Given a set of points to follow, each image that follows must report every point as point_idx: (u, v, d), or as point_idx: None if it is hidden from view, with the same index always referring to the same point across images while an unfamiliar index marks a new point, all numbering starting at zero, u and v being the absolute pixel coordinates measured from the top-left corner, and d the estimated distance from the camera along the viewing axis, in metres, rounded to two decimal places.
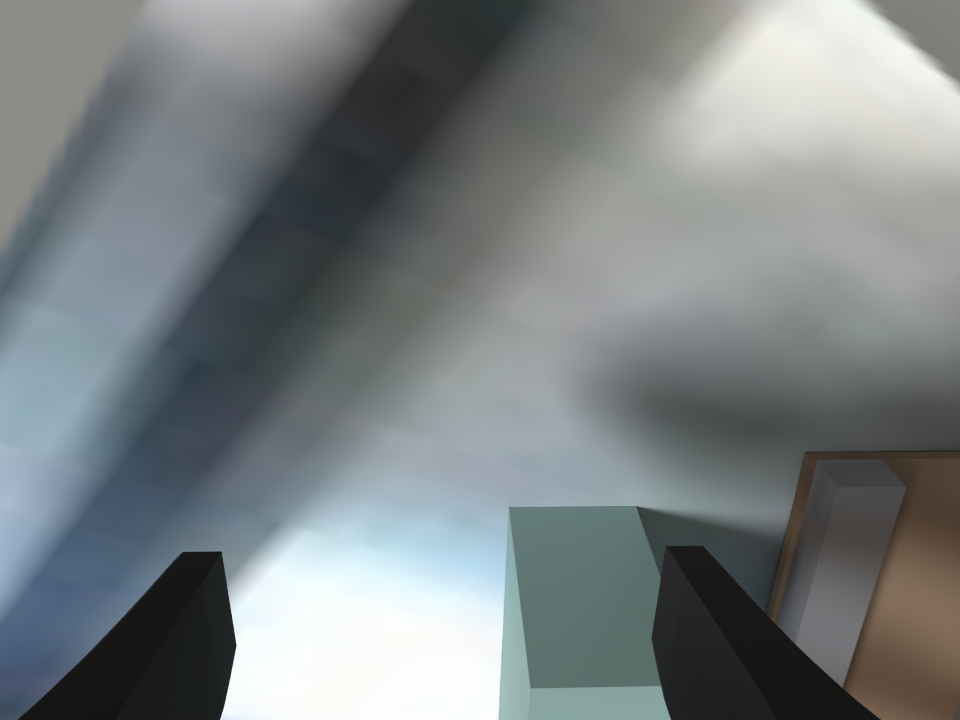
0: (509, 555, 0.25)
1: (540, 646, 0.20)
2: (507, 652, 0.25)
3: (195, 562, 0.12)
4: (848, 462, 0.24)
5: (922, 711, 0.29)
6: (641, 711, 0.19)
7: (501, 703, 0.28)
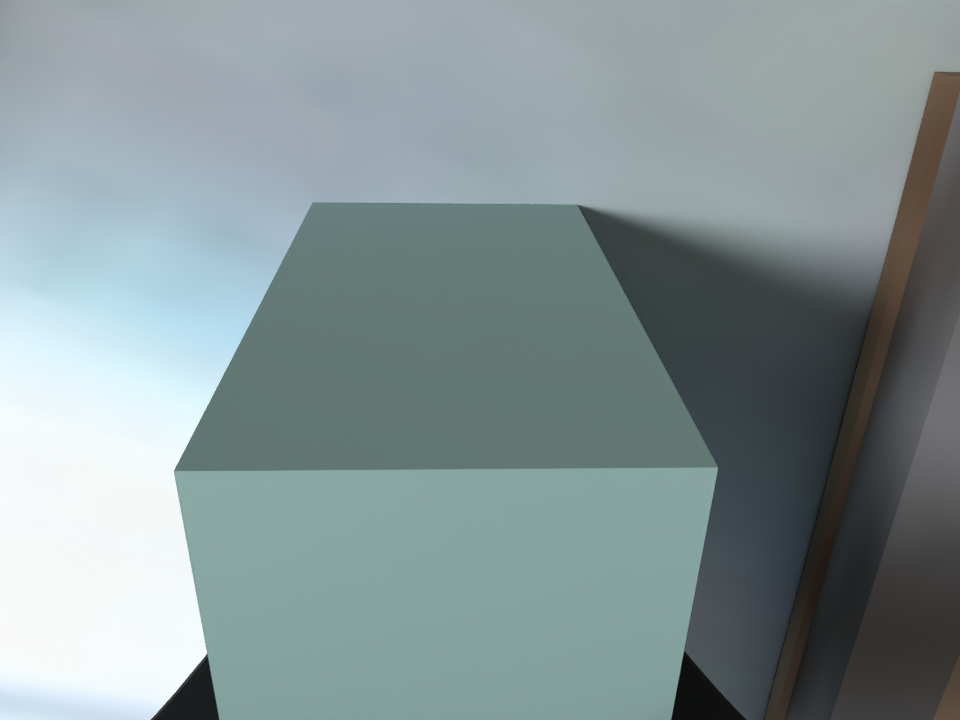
0: None
1: (262, 386, 0.07)
2: None
3: None
4: None
5: None
6: (540, 559, 0.06)
7: None
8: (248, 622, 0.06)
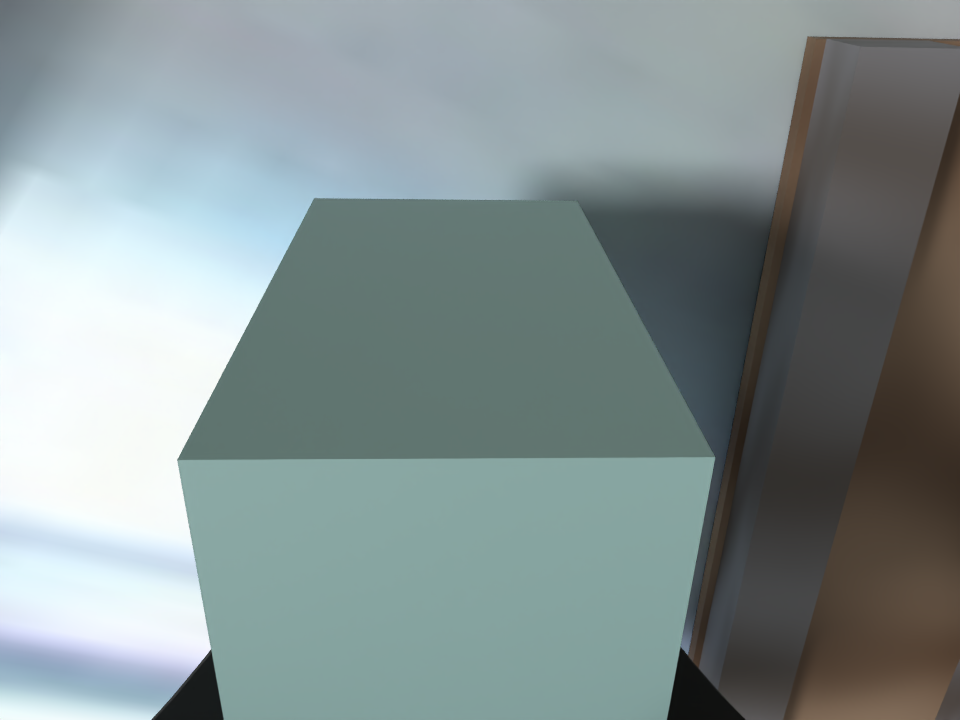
0: None
1: (265, 377, 0.07)
2: None
3: None
4: (875, 40, 0.15)
5: None
6: (540, 548, 0.06)
7: None
8: (250, 610, 0.07)
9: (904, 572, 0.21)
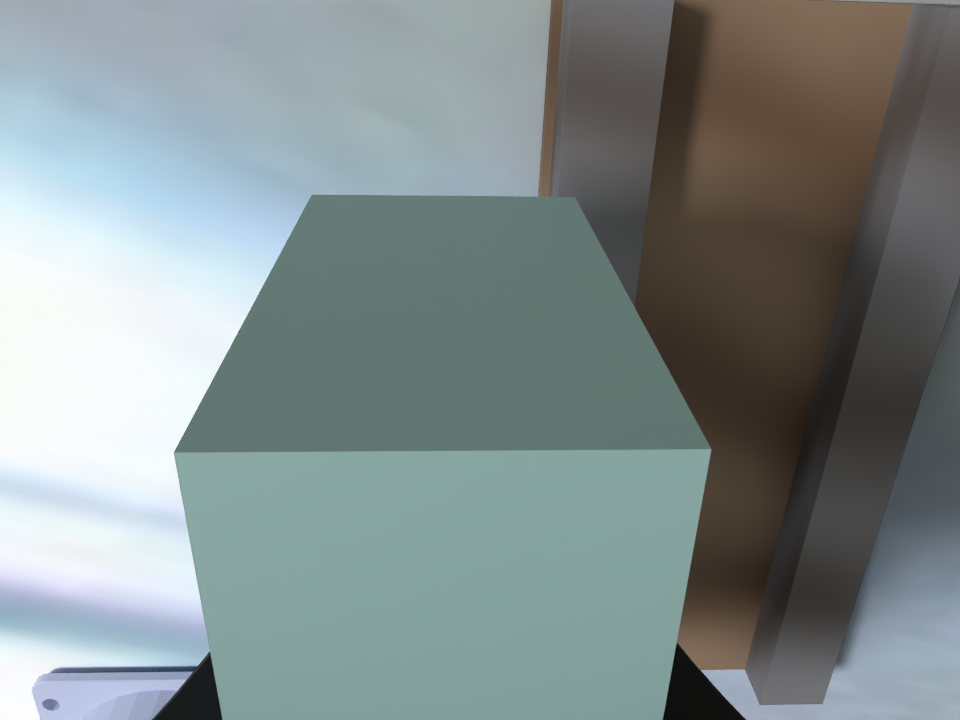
0: None
1: (262, 371, 0.07)
2: None
3: None
4: None
5: (758, 439, 0.22)
6: (537, 540, 0.06)
7: None
8: (247, 604, 0.07)
9: (702, 502, 0.23)
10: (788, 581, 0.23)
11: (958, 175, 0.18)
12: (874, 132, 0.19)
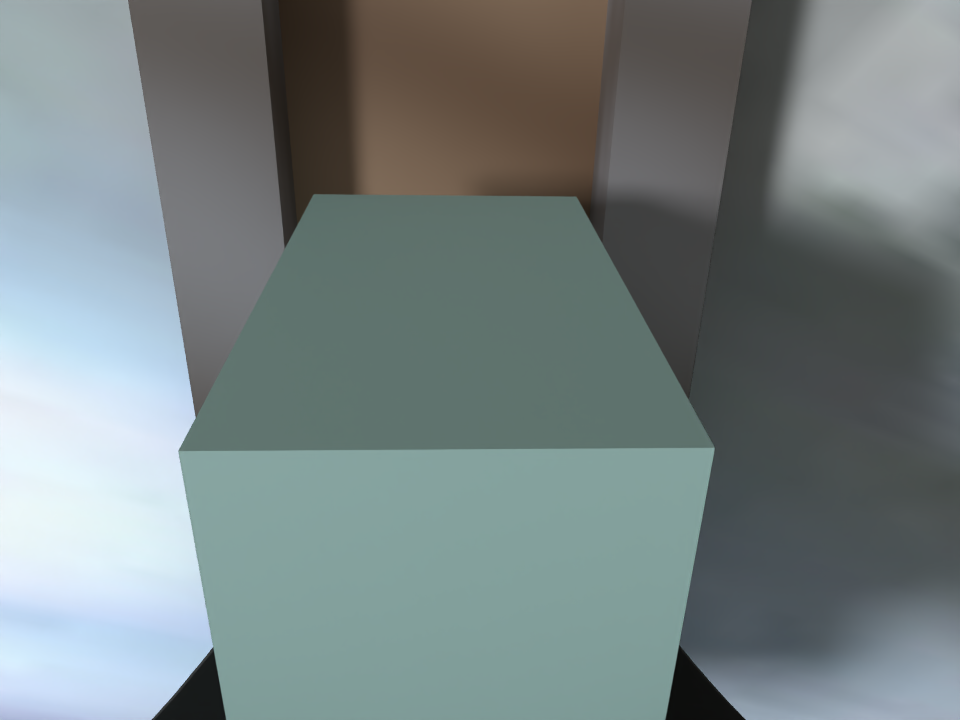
0: None
1: (265, 371, 0.07)
2: None
3: None
4: None
5: None
6: (541, 540, 0.06)
7: None
8: (251, 602, 0.07)
9: None
10: None
11: (683, 140, 0.13)
12: (592, 88, 0.14)
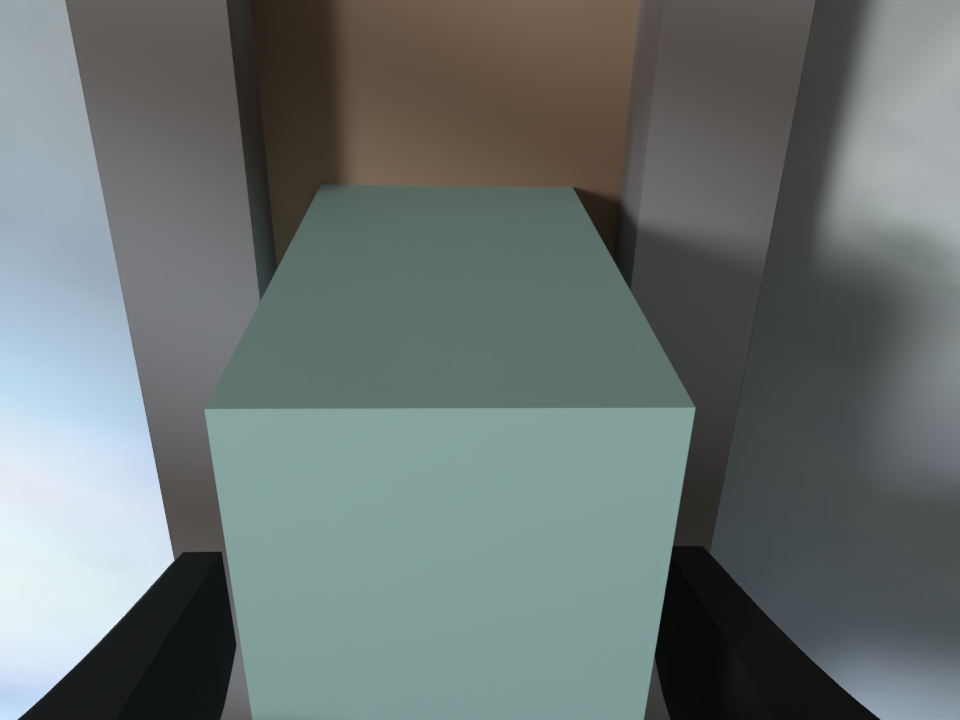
0: None
1: (281, 340, 0.08)
2: None
3: (195, 562, 0.12)
4: None
5: None
6: (536, 493, 0.07)
7: None
8: (269, 552, 0.07)
9: None
10: None
11: (728, 173, 0.11)
12: (618, 109, 0.12)
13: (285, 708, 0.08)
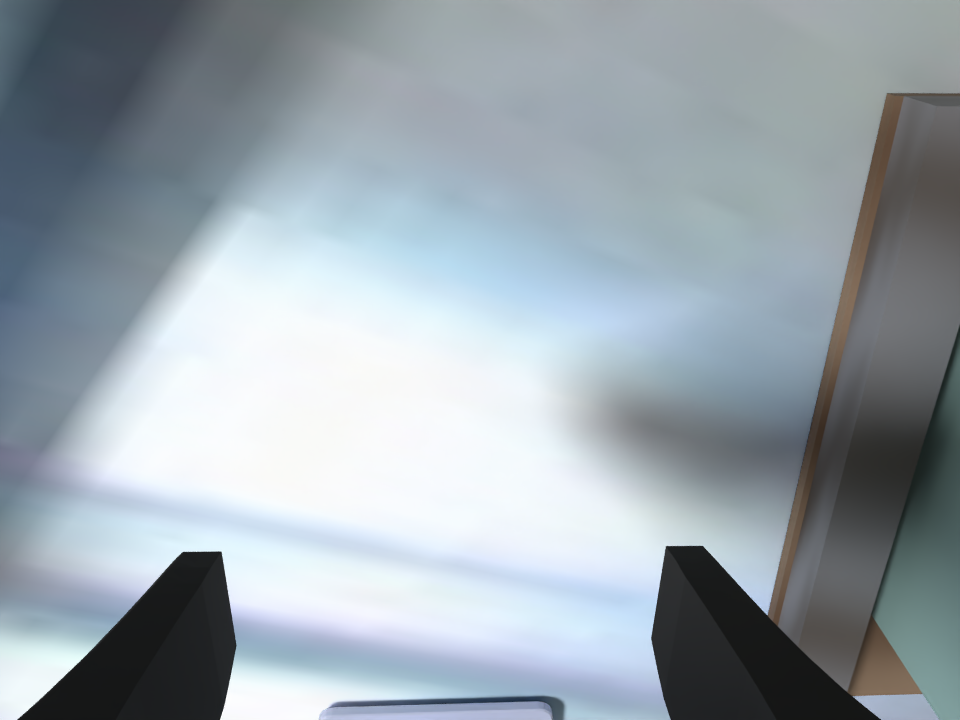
0: None
1: None
2: None
3: (194, 562, 0.12)
4: (944, 97, 0.19)
5: None
6: None
7: (911, 523, 0.23)
8: None
9: None
10: None
11: None
12: None
13: None
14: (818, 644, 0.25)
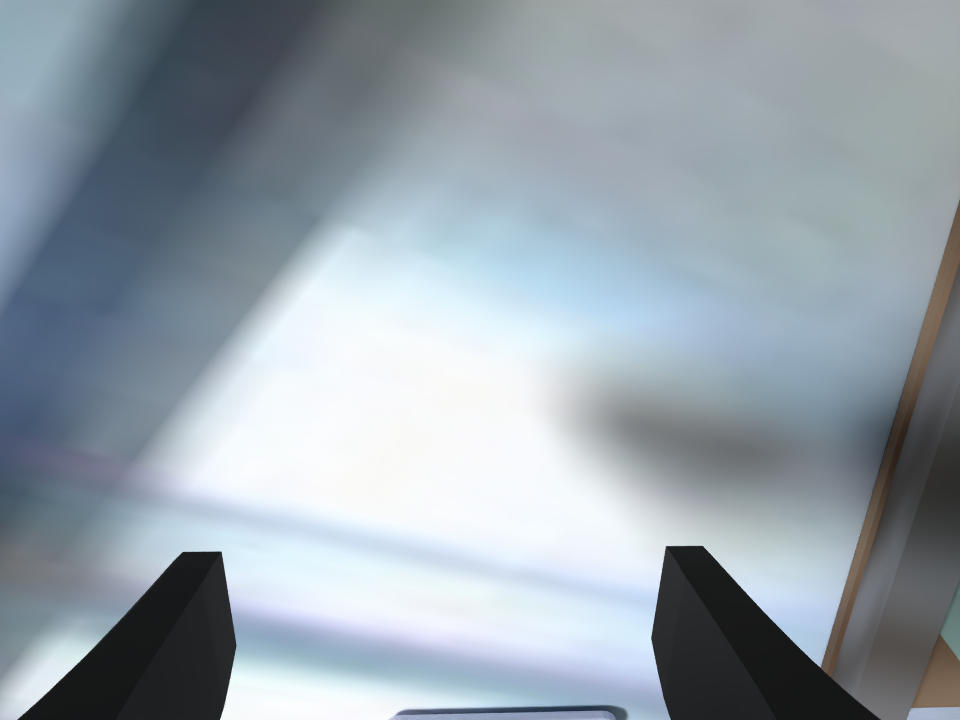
0: None
1: None
2: None
3: (195, 562, 0.12)
4: None
5: None
6: None
7: None
8: None
9: None
10: None
11: None
12: None
13: None
14: (887, 658, 0.25)
